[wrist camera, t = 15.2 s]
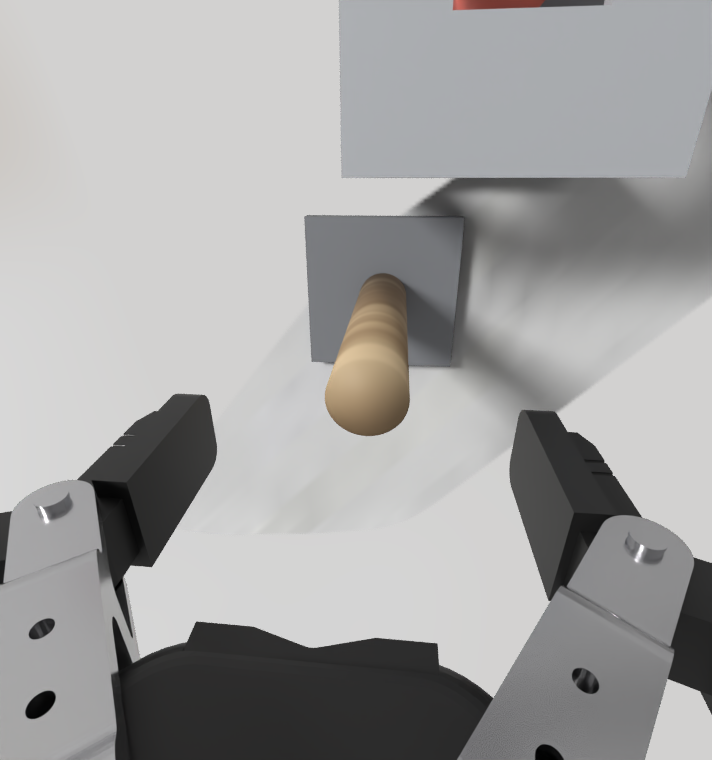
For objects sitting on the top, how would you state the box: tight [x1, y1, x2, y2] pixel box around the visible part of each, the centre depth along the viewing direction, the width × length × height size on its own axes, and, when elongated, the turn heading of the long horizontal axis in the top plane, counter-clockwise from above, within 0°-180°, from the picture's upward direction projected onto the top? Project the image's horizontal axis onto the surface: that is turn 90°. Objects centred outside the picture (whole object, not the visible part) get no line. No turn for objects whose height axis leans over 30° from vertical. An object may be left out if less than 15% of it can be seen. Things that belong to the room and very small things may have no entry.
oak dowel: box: [325, 273, 410, 436], centre depth 18 cm, size 2×2×12 cm
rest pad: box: [305, 215, 465, 367], centre depth 24 cm, size 8×8×1 cm
